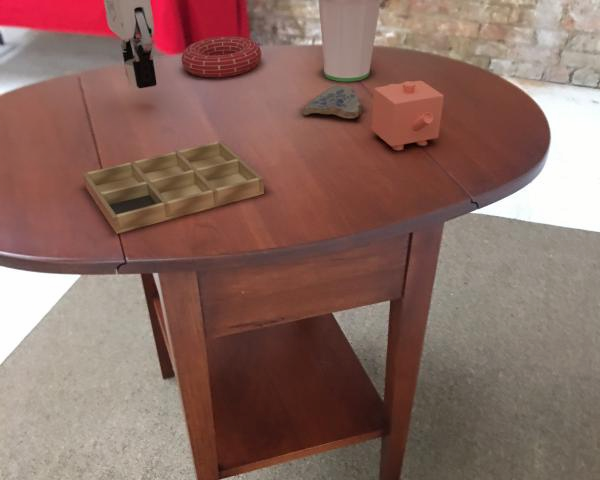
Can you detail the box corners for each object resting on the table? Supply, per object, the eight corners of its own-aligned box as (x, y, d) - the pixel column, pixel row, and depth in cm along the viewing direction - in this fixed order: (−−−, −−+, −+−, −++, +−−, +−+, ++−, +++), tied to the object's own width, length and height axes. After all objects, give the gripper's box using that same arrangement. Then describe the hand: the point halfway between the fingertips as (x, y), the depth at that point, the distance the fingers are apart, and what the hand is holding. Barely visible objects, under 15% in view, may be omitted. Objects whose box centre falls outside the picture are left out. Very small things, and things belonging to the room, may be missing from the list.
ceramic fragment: (355, 115, 99) (299, 96, 101) (351, 135, 101) (297, 115, 104) (381, 92, 105) (328, 74, 108) (377, 111, 108) (325, 93, 110)
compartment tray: (116, 234, 78) (112, 217, 77) (86, 188, 87) (82, 173, 85) (264, 193, 85) (263, 178, 83) (222, 155, 94) (221, 140, 92)
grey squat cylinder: (133, 89, 102) (129, 68, 100) (125, 81, 105) (121, 60, 103) (159, 84, 104) (156, 63, 102) (150, 77, 107) (147, 56, 104)
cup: (393, 71, 118) (401, -26, 107) (354, 91, 111) (358, -11, 100) (339, 58, 123) (341, -36, 112) (299, 76, 117) (297, -22, 106)
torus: (230, 49, 129) (228, 29, 126) (278, 64, 122) (277, 44, 119) (167, 68, 121) (163, 47, 118) (213, 86, 114) (211, 65, 111)
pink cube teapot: (400, 162, 91) (406, 102, 85) (365, 131, 99) (368, 74, 93) (448, 153, 93) (457, 94, 87) (409, 123, 101) (415, 67, 95)
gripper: (78, -59, 96) (105, 71, 108) (110, -40, 85) (136, 102, 98) (126, -64, 98) (147, 64, 111) (163, -46, 88) (181, 93, 100)
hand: (141, 80), depth 104 cm, fingers closed on grey squat cylinder, 4 cm apart
